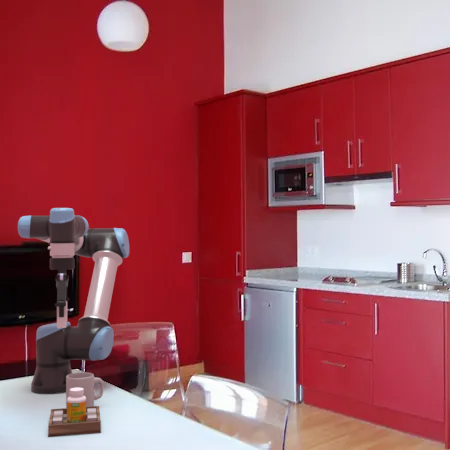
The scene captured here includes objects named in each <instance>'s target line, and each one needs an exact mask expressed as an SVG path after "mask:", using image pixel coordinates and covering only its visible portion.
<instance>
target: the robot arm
mask: <svg viewBox="0 0 450 450" xmlns="http://www.w3.org/2000/svg"><path fill="white" fill-rule="evenodd" d="M89 227H90V225H89V223H88V220H87V219H86V218H85V217H84V216H81V215H78V214H77V215H76V214H75V210H74V209H73V208H70V207H53V208H51V209H50V211H49V215H23V216H21V217H19V219H18V221H17V232H18V235H19V236H20V238H23V239H28V240H29V239H37V240H40V241H43V242H45V243H48V244H49V246H48V247H47V250H49V256H50V258H49V269H50V271H51V270H52V271H57V272H58V273H57V275H55V282H56V283H55V288H56V293H57V295H56V303H54V308H55V307H56V322H53V323H47V324H44V325H41V326H39V327H38V328H37V330H36V336H35V337H36V339H35V342H36V343H35V348H36V349H35V351H36V353H35V354H36V356H35V358H36V368H35V372H34V374H33V378H32V381H31V384H30V385H31V388H30V389H31V392H32V393H36V394H42V395H43V394H44V395H45V394H46V395H52V394H53V395H54V394H62V393H66V376H67V375H69V374H72V373H73V370H72V367H71V360H74V361H75V360H76V361H78V360H79V361H81V360H82V361H94V362H95V361H102V360H105V359H107V357H109V356H110V354H111V352H112V349H113V346H114V342H115V341H114V338H115V331H114V329H113V328H112V327H111V323H110V322H109V321H108V319H109V313H110V309H111V303H112V296H113V291H114V287H115V282H116V275H117V271H118V267H119V266H120V265H122V264H123V260H124V259H126V258H128V257H129V256H130V241H129V236H128V233H127V231H126V230H125V229H124V228H122V227H121V228H118V227H113V228H110V227H108V228H106V227H105V228H103V227H102V228H101V227H98V228H97V227H96V228H95V227H94V228H93V227H92V228H91V227H90V228H89ZM75 255H76V256H80V257H84V258H92V261H93V262H94V267H93V271H92V276H91V281H90V284H89V285H90V286H89V290H88V296H87V299H86V300H87V301H86V305H85V309H84V314H83V316H82V317H80V318H79V319H78V321H77V325H76V326H75V325H74V326H72V325H71V322H70V321H68V302H69V301H70V297H68V287H69V280H70V278H69V274H68V271H67V270H69V271H70V270H74V269H75V258H74V256H75Z"/></svg>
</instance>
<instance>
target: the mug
mask: <svg viewBox="0 0 450 450" xmlns="http://www.w3.org/2000/svg"><path fill="white" fill-rule="evenodd" d="M96 383H97V384H98V383H99V387H100V390H99V393H96V394H95V384H96ZM76 387H80V388H83V389H84V394H83V395H84V396H85V397H86V407H91V406H95V401H97V400H99V399H101V398H102V397H103V395H104V391H105V389H104V388H105V387H104V380H103V379H102V378H101V377H95V376H94V373H92V372H87V371H86V372H85V371H84V372H83V371H82V372H74V373H73V372H72V374H69V375H67V376H66V392H65V399H66V401H65V404H66V405H65V408H67V398H68V397H69V396H70V393H69V392H70V389H71V388H76Z"/></svg>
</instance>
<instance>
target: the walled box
mask: <svg viewBox="0 0 450 450" xmlns="http://www.w3.org/2000/svg"><path fill="white" fill-rule="evenodd" d="M100 411H101V410H100V406H99V405H94V406H91V407H86V422H81V423H68V424H67V408H66V407H64V408H51V409H50V413H49V420H48V425H47V438H50V437H52V438H53V437H63V436H64V437H65V436H76V435H88V434H99V433H100V434H101V433H102V431H101V429H102V428H101V425H102V424H101V412H100Z"/></svg>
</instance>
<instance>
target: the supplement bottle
mask: <svg viewBox="0 0 450 450" xmlns="http://www.w3.org/2000/svg"><path fill="white" fill-rule="evenodd" d="M69 393H70V396H69V397H68V398H67V424H68V423H81V422H86V397H85V396H84V395H83V394H84V389H83V388H80V387H76V388H71V389H70V392H69Z"/></svg>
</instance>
